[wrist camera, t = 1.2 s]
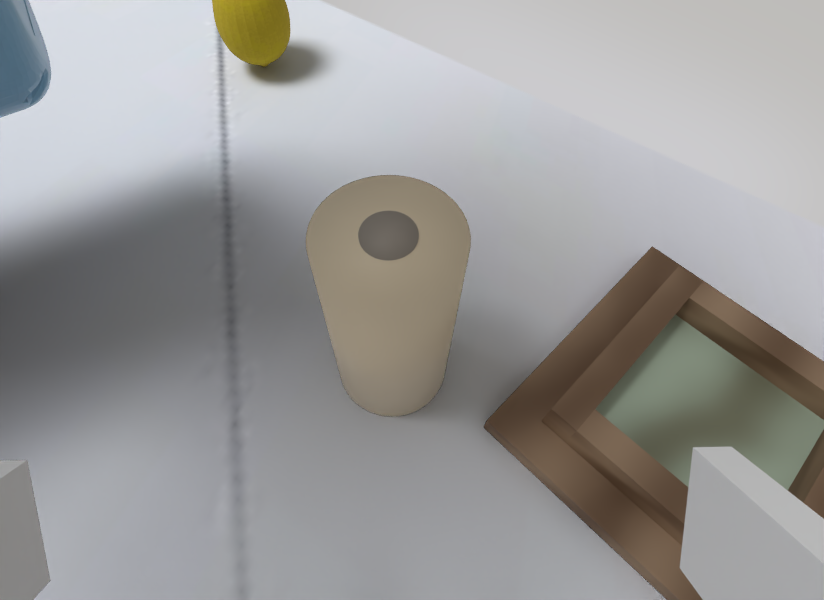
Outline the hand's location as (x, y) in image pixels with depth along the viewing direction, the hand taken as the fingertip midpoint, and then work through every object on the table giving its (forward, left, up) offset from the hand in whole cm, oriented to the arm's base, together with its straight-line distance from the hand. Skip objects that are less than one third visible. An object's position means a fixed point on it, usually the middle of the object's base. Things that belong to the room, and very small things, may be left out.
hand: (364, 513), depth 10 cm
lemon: (-34, +18, -16) cm, 42 cm away
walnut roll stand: (+7, +16, -16) cm, 24 cm away
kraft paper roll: (-7, +7, -16) cm, 19 cm away
